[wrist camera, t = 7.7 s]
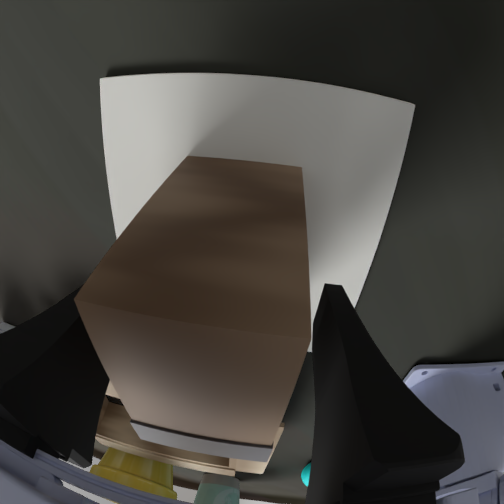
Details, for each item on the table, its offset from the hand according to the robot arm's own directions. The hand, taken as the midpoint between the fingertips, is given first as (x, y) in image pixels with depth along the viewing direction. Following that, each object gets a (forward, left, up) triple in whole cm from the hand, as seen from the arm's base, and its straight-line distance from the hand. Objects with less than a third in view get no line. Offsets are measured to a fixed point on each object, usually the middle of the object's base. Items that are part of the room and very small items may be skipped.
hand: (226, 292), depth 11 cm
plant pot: (+10, +30, -4) cm, 32 cm away
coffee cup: (+1, +45, -4) cm, 45 cm away
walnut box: (0, 0, -3) cm, 3 cm away
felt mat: (0, 0, -4) cm, 4 cm away
